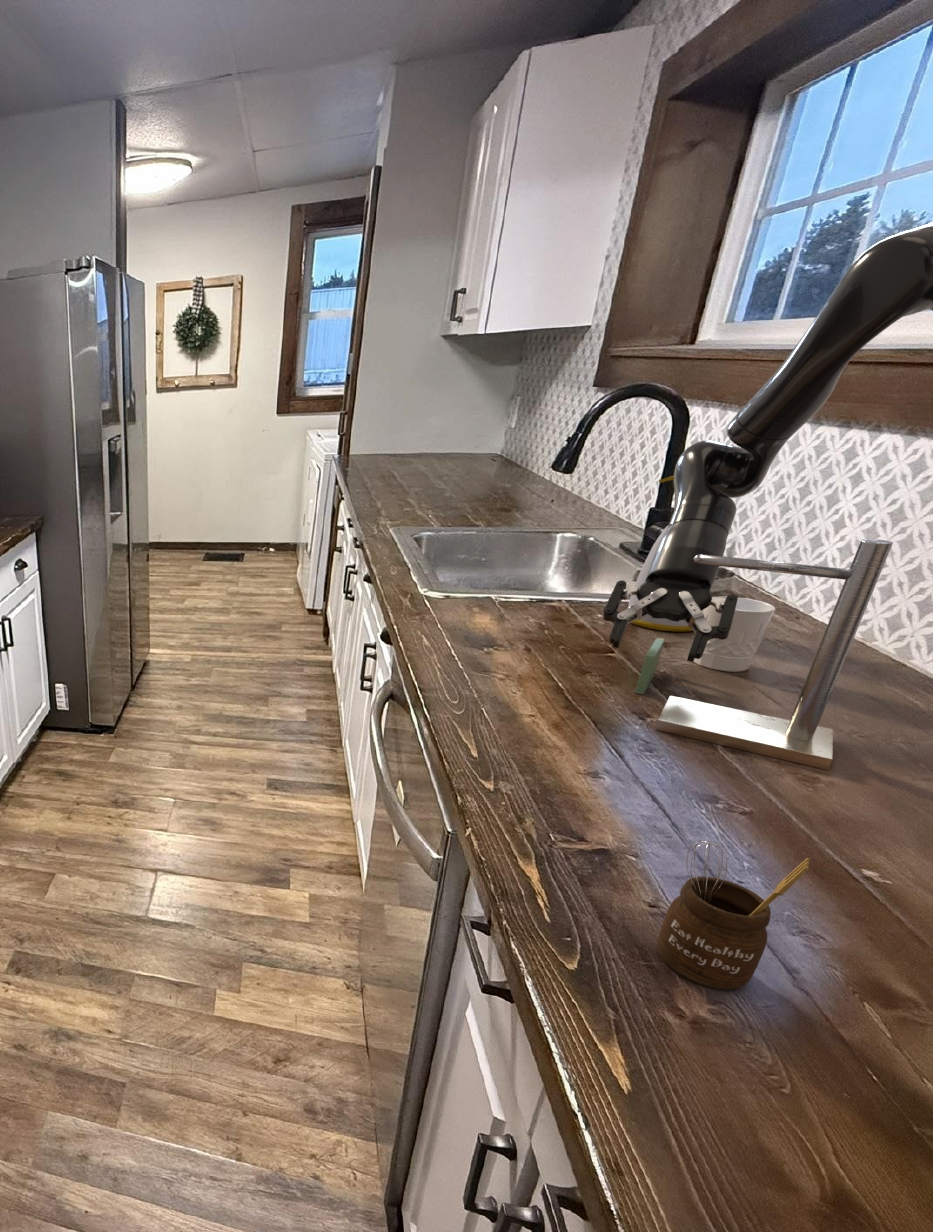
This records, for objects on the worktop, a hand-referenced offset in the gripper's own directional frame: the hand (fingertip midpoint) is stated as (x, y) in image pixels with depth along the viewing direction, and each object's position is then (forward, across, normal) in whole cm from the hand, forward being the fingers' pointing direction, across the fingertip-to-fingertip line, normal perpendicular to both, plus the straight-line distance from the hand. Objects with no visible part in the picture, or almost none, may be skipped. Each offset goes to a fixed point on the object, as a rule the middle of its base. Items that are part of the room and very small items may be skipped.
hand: (652, 652), depth 103 cm
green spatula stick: (+3, 0, +1) cm, 3 cm away
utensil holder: (+47, +13, -38) cm, 62 cm away
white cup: (-9, +7, +18) cm, 21 cm away
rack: (+10, +11, -2) cm, 15 cm away
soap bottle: (-22, -3, +31) cm, 38 cm away
